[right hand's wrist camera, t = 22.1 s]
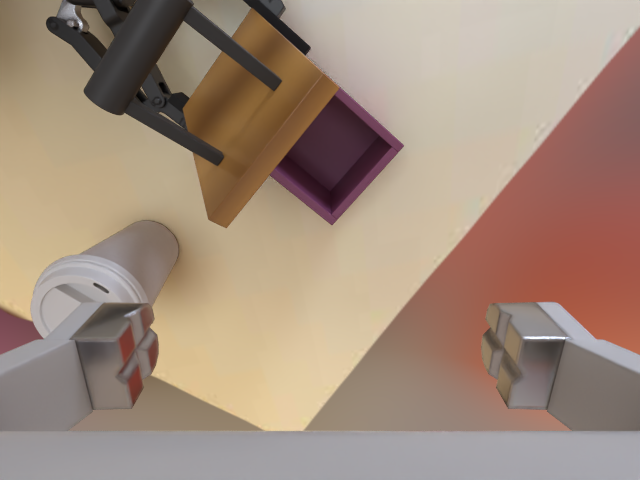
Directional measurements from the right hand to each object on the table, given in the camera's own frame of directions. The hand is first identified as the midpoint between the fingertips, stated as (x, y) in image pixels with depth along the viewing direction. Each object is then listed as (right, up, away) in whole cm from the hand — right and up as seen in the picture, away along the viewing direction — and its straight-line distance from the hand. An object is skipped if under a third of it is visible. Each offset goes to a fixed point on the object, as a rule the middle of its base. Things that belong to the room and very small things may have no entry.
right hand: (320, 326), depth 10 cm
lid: (-5, +11, +17) cm, 20 cm away
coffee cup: (-19, +1, +38) cm, 43 cm away
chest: (-2, +14, +32) cm, 36 cm away
